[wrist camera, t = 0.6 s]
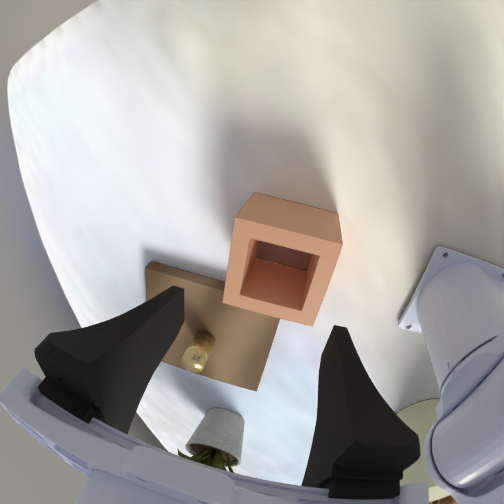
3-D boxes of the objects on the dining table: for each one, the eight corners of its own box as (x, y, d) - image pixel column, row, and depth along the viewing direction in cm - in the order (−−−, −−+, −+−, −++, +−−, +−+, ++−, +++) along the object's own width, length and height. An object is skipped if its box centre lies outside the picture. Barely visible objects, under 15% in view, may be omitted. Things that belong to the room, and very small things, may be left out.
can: (395, 403, 27) (400, 496, 17) (463, 392, 25) (481, 476, 15) (382, 438, 31) (381, 513, 21) (442, 429, 29) (450, 501, 18)
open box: (338, 213, 20) (342, 244, 15) (315, 284, 23) (312, 326, 18) (254, 192, 20) (234, 217, 16) (241, 265, 23) (222, 302, 19)
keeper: (285, 298, 24) (276, 337, 20) (258, 382, 30) (249, 417, 26) (151, 260, 25) (123, 289, 21) (156, 350, 31) (137, 379, 27)
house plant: (150, 394, 37) (99, 485, 22) (211, 369, 30) (153, 500, 16) (220, 443, 40) (189, 528, 25) (289, 429, 33) (265, 540, 19)
